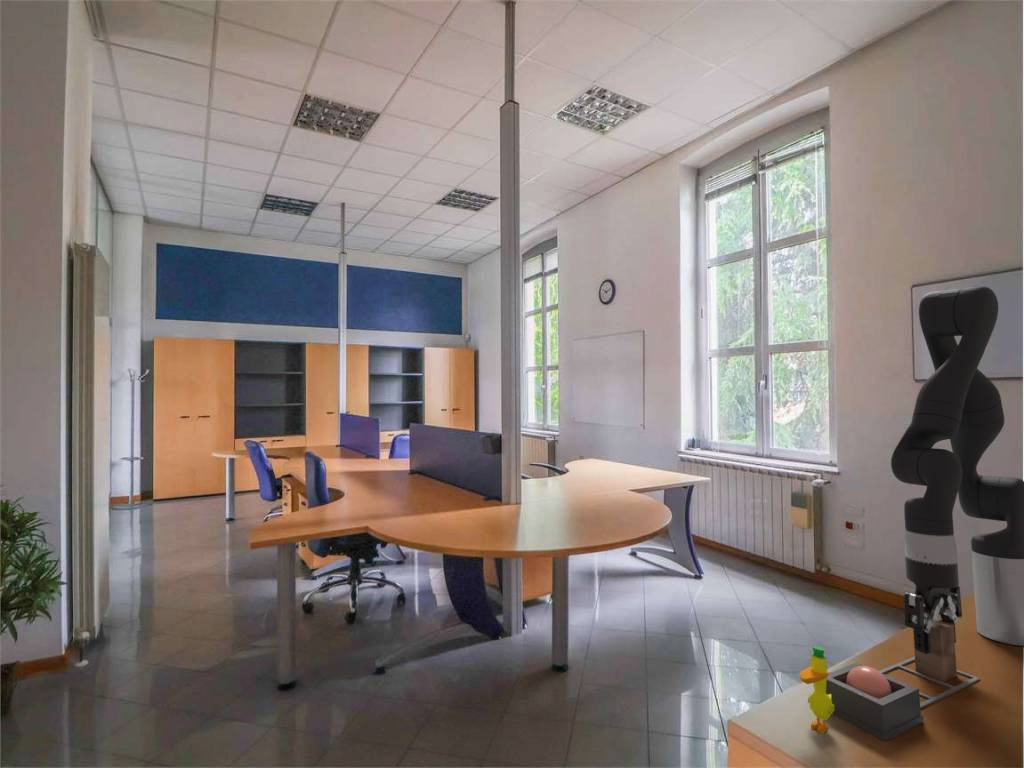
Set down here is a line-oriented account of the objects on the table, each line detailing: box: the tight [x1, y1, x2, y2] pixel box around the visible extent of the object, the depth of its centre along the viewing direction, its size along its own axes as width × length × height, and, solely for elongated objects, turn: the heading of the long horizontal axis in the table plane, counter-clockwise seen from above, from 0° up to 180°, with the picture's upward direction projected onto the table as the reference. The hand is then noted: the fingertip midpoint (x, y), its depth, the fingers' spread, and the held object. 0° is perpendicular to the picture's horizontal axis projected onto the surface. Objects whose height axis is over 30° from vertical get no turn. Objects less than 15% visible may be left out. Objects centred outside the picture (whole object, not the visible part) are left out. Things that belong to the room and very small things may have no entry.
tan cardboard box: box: [912, 619, 958, 683], centre depth 96 cm, size 4×4×9 cm
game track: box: [878, 656, 981, 710], centre depth 92 cm, size 22×10×1 cm, turn 116°
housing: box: [826, 662, 924, 742], centre depth 84 cm, size 10×10×5 cm
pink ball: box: [846, 665, 892, 699], centre depth 84 cm, size 6×6×6 cm
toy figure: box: [798, 645, 834, 734], centre depth 80 cm, size 7×4×12 cm, turn 116°
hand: (935, 647), depth 95 cm, fingers open, 8 cm apart
